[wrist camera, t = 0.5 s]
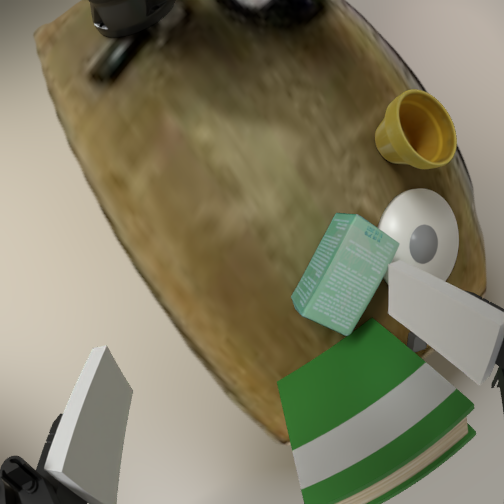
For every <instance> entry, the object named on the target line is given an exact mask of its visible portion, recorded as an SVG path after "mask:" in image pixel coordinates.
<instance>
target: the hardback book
mask: <svg viewBox="0 0 504 504" xmlns="http://www.w3.org/2000/svg"><path fill="white" fill-rule="evenodd" d="M277 385H278V389H279V394H280V398H281V402H282V407H283V411H284V416H285V420H286V425H287V429H288V434H289V438H290V443H291V447H292V451H293V456H294V460H295V465H296V469H297V473H298V478H299V482H300V487H301V491H302V495H303V500H304V504H381V503H383V502H385V501H387V500H389V499H390V498H392V497H394V496H396V495H397V494H399V493H401V492H402V491H404V490H406V489H407V488H409V487H410V486H412V485H413V484H415V483H416V482H418V481H419V480H421V479H422V478H424V477H425V476H427V475H428V474H429V473H430V472H432V471H433V470H435V469H436V468H437V467H439V466H440V465H441V464H442V463H444V462H445V461H447V460H448V459H449V458H450V457H451V456H453V455H454V454H455V453H456V452H457V451H458V450H460V449H461V448H462V447H463V446H464V445H465V444H466V443H468V442H469V441H470V440H471V439H472V438H473V437H474V436H475V435H476V431H475V430H474V429H473V428H472V427H471V426H470V425H469V424H468V423H467V418H466V416H467V415H468V414H469V413H470V412H471V411H472V410H473V409H474V404H473V403H472V402H471V401H470V400H469V399H468V398H467V397H466V396H464V395H463V394H462V393H461V392H460V391H459V390H457V389H456V388H455V387H454V386H453V385H452V384H451V383H449V382H448V381H447V380H446V379H445V378H444V377H443V376H441V375H440V374H439V373H438V372H437V371H436V370H434V369H433V368H432V367H431V366H430V365H428V364H427V363H426V362H425V361H424V360H423V359H421V358H420V357H419V356H418V355H417V354H415V353H414V352H413V351H412V350H411V349H410V348H408V347H407V346H406V345H405V344H404V343H402V342H401V341H400V340H399V339H398V338H396V337H395V336H394V335H393V334H391V333H390V332H389V331H388V330H387V329H385V328H384V327H383V326H382V325H381V324H379V323H378V322H377V321H376V320H374V319H373V318H371V319H369V320H368V321H367V322H365V323H364V324H363V325H362V326H360V327H359V328H358V329H356V330H355V331H354V332H352V333H351V334H350V335H348V336H347V337H345V338H344V339H342V340H341V341H340V342H338V343H337V344H335V345H334V346H333V347H331V348H330V349H328V350H327V351H325V352H324V353H322V354H321V355H319V356H318V357H316V358H315V359H313V360H312V361H310V362H309V363H307V364H305V365H304V366H302V367H301V368H299V369H297V370H296V371H294V372H293V373H291V374H289V375H288V376H286V377H284V378H283V379H281V380H279V381H278V382H277Z"/></svg>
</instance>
